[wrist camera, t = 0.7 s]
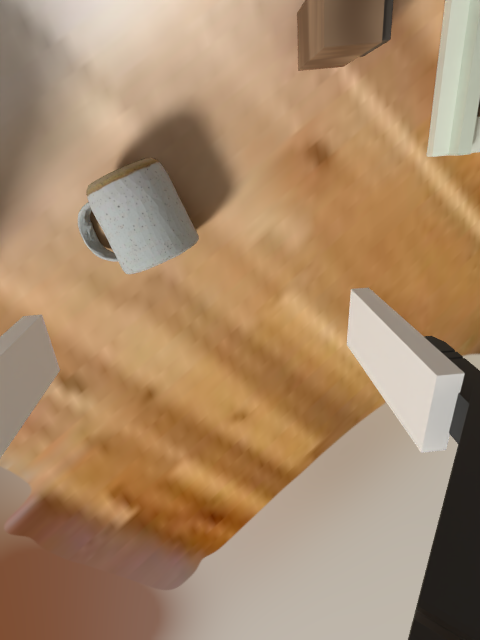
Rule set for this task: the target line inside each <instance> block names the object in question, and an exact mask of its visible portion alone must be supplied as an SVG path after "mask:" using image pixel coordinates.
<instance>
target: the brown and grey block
mask: <svg viewBox="0 0 480 640" xmlns="http://www.w3.org/2000/svg"><path fill="white" fill-rule="evenodd" d="M392 11H393V0H305V2H304V3H303V5H302V7H301V8H300V10H299V11H298V13H297V24H298V71H301V70H312V69H323V68H334V67H344V66H345V65H347V64H348V63H350V62H351V61H353V60H355V59H356V58H358V57H362V56H365V55H366V54H368V53H370V52H371V51H373V50H374V49H376V48H378V47H379V46H381V45H383V44H384V43H386V42H387V41H389V40H390V39H391V25H392Z"/></svg>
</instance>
